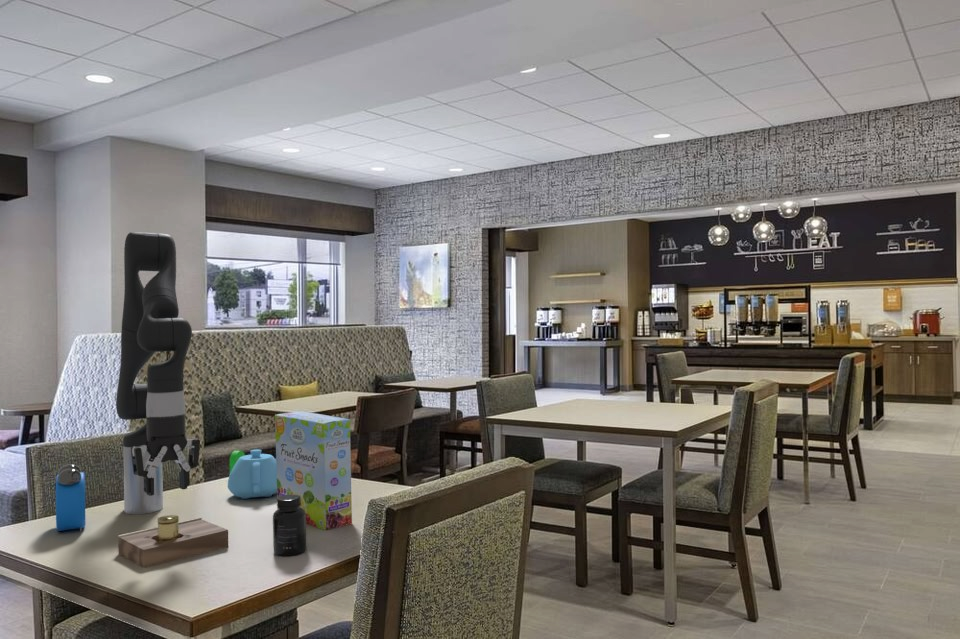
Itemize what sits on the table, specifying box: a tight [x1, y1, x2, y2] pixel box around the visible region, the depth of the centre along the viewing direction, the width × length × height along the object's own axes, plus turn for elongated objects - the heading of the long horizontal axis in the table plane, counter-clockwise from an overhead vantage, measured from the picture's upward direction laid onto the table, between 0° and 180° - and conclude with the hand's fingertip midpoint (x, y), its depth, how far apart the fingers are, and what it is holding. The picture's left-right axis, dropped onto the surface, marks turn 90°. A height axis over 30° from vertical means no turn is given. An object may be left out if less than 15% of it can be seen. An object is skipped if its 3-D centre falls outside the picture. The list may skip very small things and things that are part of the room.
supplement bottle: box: [272, 495, 308, 558], centre depth 155 cm, size 7×7×12 cm
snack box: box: [274, 410, 353, 531], centre depth 181 cm, size 22×9×26 cm, turn 47°
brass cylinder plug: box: [157, 514, 180, 542], centre depth 155 cm, size 4×4×8 cm
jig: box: [117, 517, 229, 569], centre depth 157 cm, size 13×18×4 cm
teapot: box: [227, 449, 277, 500], centre depth 208 cm, size 20×20×13 cm
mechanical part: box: [229, 450, 246, 474], centre depth 234 cm, size 12×6×8 cm, turn 164°
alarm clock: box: [54, 463, 86, 532], centre depth 175 cm, size 13×6×15 cm, turn 29°
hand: (167, 491), depth 154 cm, fingers open, 6 cm apart
